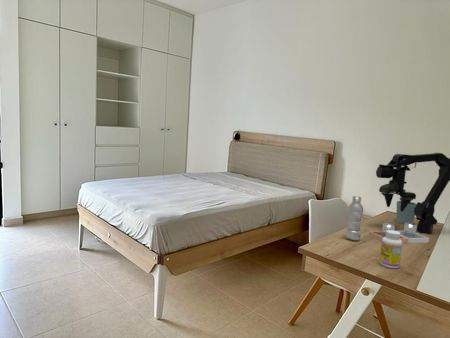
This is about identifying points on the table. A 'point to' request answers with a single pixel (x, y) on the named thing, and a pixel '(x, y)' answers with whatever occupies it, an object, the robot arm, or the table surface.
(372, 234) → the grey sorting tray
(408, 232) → the billet
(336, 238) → the table surface
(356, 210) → the plastic bottle
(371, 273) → the table surface
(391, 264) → the supplement bottle
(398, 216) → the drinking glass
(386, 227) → the steel billet
